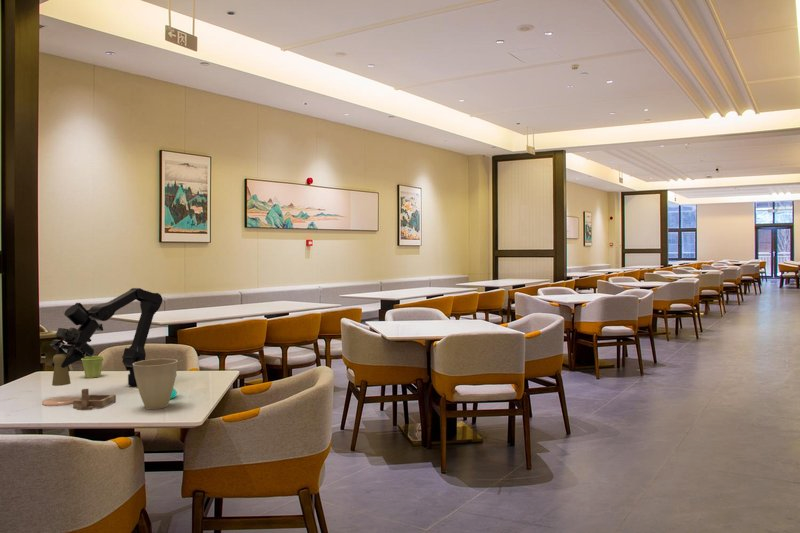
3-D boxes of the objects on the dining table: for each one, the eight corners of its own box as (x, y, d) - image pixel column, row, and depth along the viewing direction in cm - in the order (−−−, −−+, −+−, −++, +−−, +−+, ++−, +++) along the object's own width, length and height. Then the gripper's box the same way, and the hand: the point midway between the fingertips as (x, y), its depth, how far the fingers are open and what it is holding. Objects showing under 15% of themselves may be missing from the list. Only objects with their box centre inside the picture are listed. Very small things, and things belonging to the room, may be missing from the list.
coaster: (78, 397, 238) (78, 395, 238) (79, 403, 227) (79, 401, 227) (42, 400, 233) (42, 398, 232) (41, 407, 222) (41, 405, 222)
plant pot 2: (164, 400, 232) (163, 357, 232) (186, 405, 223) (186, 361, 223) (125, 407, 221) (124, 362, 221) (146, 414, 211) (146, 367, 211)
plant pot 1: (98, 378, 274) (97, 359, 274) (76, 379, 274) (76, 359, 274) (108, 374, 284) (108, 355, 283) (87, 375, 284) (87, 355, 284)
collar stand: (88, 401, 231) (88, 382, 231) (115, 401, 230) (115, 382, 230) (69, 409, 218) (69, 389, 218) (98, 409, 218) (98, 389, 218)
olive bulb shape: (56, 386, 226) (55, 356, 225) (49, 384, 229) (48, 354, 229) (73, 383, 230) (73, 353, 230) (66, 381, 234) (65, 352, 234)
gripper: (54, 318, 237) (26, 351, 228) (86, 320, 229) (58, 355, 219) (74, 336, 244) (47, 369, 235) (105, 339, 236) (79, 373, 226)
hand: (57, 366), depth 229 cm, fingers closed on olive bulb shape, 5 cm apart
